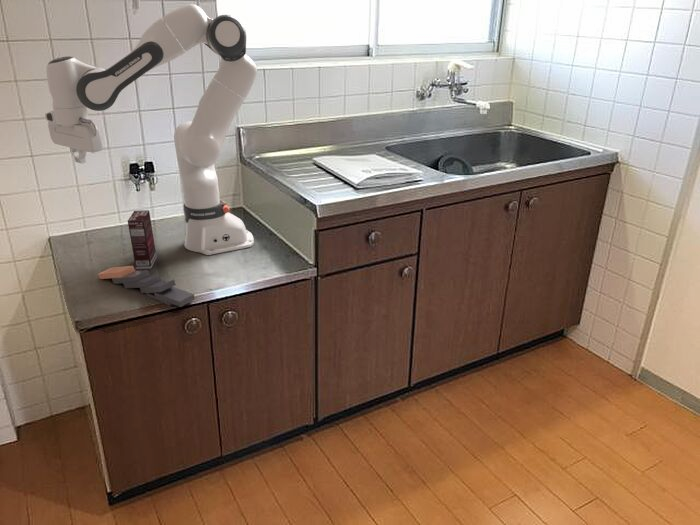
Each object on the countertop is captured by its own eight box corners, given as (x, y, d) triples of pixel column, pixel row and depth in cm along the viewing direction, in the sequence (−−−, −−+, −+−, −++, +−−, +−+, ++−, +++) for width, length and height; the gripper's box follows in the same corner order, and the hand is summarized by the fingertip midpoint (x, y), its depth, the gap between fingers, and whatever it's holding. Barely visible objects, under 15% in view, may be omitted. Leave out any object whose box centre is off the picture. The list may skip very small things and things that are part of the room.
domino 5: (146, 292, 164) (169, 303, 159) (161, 285, 168) (184, 296, 163) (147, 297, 165) (170, 308, 160) (161, 290, 169) (185, 301, 163)
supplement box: (141, 257, 186) (133, 210, 180) (157, 257, 187) (150, 209, 180) (134, 269, 179) (126, 220, 172) (151, 269, 179) (143, 220, 172)
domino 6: (154, 292, 161) (179, 301, 156) (168, 285, 165) (193, 294, 160) (155, 297, 162) (180, 307, 157) (169, 290, 166) (194, 299, 161)
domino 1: (97, 273, 173) (119, 272, 167) (111, 267, 177) (133, 265, 171) (99, 279, 173) (121, 277, 168) (113, 272, 177) (135, 270, 172)
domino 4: (139, 287, 165) (158, 286, 158) (154, 280, 169) (173, 279, 162) (141, 293, 165) (160, 292, 159) (156, 286, 169) (175, 284, 162)
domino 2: (111, 278, 170) (134, 276, 164) (125, 272, 174) (147, 269, 168) (113, 283, 170) (136, 281, 165) (127, 277, 174) (149, 274, 169)
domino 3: (123, 283, 168) (145, 281, 162) (136, 276, 172) (159, 274, 166) (125, 288, 168) (147, 287, 163) (138, 281, 172) (161, 279, 166)
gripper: (103, 118, 169) (111, 165, 175) (60, 110, 180) (69, 155, 186) (83, 122, 165) (93, 170, 171) (41, 113, 175) (51, 159, 181)
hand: (80, 162), depth 178 cm, fingers closed
